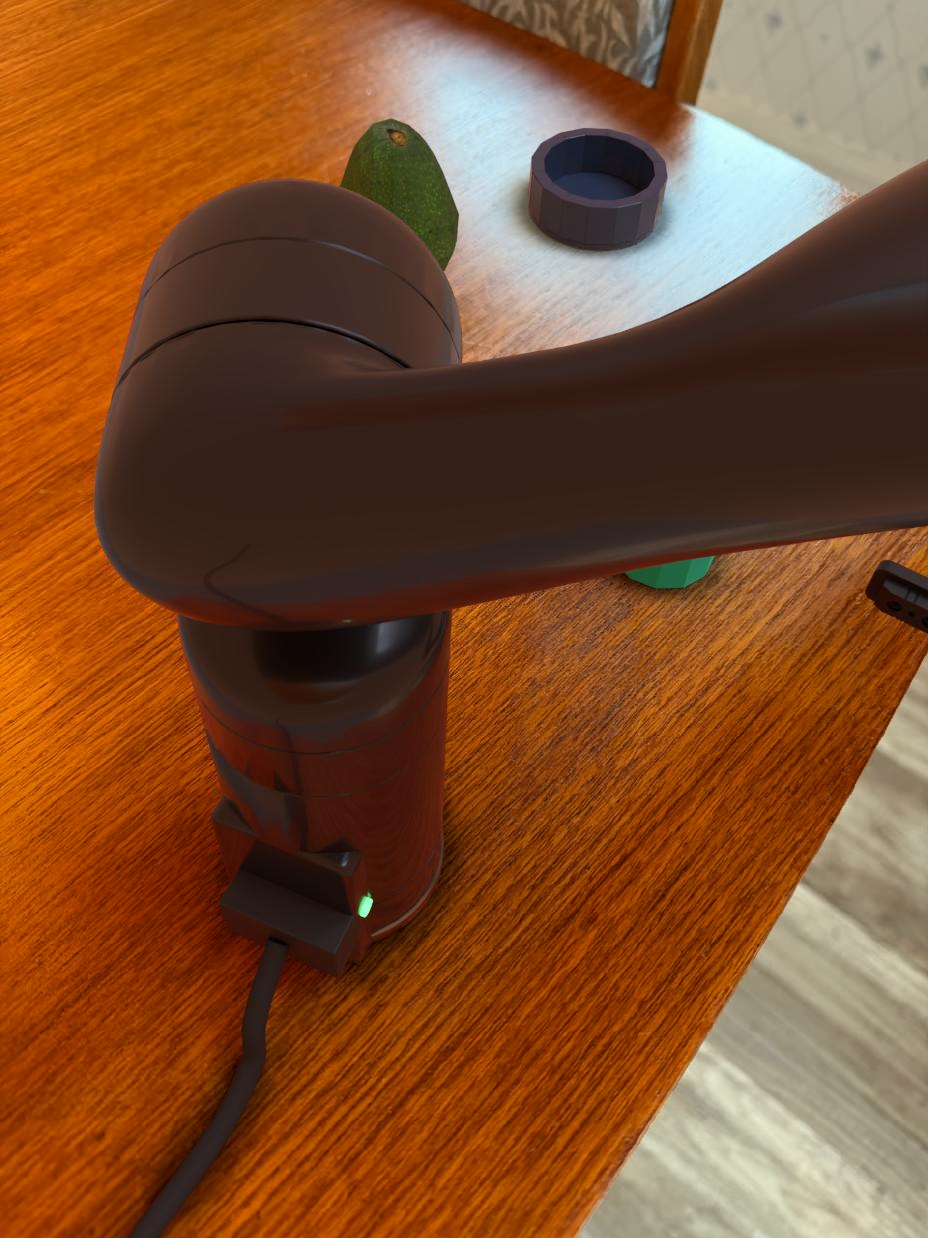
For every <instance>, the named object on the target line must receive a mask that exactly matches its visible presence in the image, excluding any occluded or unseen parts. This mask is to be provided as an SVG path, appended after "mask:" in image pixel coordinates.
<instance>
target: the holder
mask: <svg viewBox="0 0 928 1238" xmlns="http://www.w3.org/2000/svg"><path fill="white" fill-rule="evenodd" d="M668 178H669V175H668V169H667V163H666V160H665V159H664V158H663V156H662V155H661V154H660V153H659V151H657V150H656V148H655V147H654V146H652V145H651V144H649V143H648V142H645V141H644V140H642V139H640V138H639V137H637V136H636V135H633V134H631V133H630V134H629V133H625V132H622V131H618V130H615V129H612V128H611V129H610V128H599V127H581V128H575V129H570V130H567V131H561V132H558V133H556V134H554V135H552V136H551V137H549V138H547V139H545V140H544V141H542V142H541V143H539V145H538V147H537V148H536V150H535V151H534V152H533V154H532V155H531V158H530V169H529V181H528V193H527V196H528V197H527V198H528V199H527V200H528V201H527V210H528V214H529V217H530V219H531V221H532V223H533V224H534V225H535V227H536V228H537V229H538V231H540V232H541V233H543V234H544V235H545V236H547V237H549V238H550V239H552V240H553V241H555V242H557V243H560V244H563V245H566V246H568V247H571V248H575V249H579V250H584V251H585V250H586V251H595V252H597V251H598V252H605V251H616V250H621V249H625V248H628V247H631V246H634V245H636V244H639V243H640V242H642V241H644V240H645V239H647V238H648V237H649V236H650V235H651V234H652V233H653V232H654V230H655V229H656V227H657V225H658V223H659V219H660V216H661V214H662V209H663V203H664V198H665V194H666V189H667V183H668Z"/></svg>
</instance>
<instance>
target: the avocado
mask: <svg viewBox="0 0 928 1238" xmlns="http://www.w3.org/2000/svg"><path fill="white" fill-rule="evenodd" d="M339 187H342V188H346V189H348V190H351V191H353V192H355V193H358V194H360V195H363V196H365V197H366V198H368V199H370V200H372V201H374V202H376V203H378V204H379V205H381V206H382V207H384V208H385V209H387V210H388V211H390V212H392V213H393V214H394V215H395V216H397V217H398V218H399V219H400V220H402V221H403V222H404V223H405V224H406V225H407V226H408V227H409V228H411V229H412V230H413V231H414V232H415V233H416V234H417V235H418V236H419V238H420V239H421V240H422V241H423V242H424V243H425V245H426V246H427V247H428V248H429V250H430V251H431V252H432V254H433V255H434V257H435V258H436V259H437V261H438V263H439V264H440V266H441V268H442V269H443V271H444V272H445V271H446V269H447V267H448V265H449V263H450V261H451V259H452V257H453V255H454V252H455V249H456V245H457V241H458V234H459V222H460V221H459V220H460V212H459V210H458V208H457V205H456V202H455V200H454V197H453V194H452V192H451V189H450V187H449V183H448V181H447V178H446V176H445V174H444V170H443V169H442V167H441V164H440V163H439V160H438V159H437V157H436V155H435V153H434V151H433V150H432V148H431V146H430V145H429V143H428V142H427V140H426V139H425V138H424V136H422V135H421V134H420V133H419V132H418V131H417V130H415V128H413V127H412V126H411V125H410V124H408V123H405V122H402V121H400V120H397V119H395V118H392V117H390V118H387V119H384V120H381V121H377V122H373V123H372V124H371V125H370V126H369V127H368V129H366V131H365V132H364V133H363V134H362V135H361V137H359V139H358V140H357V142H356V143H355V145H354V146H353V148H352V150H351V153H350V155H349V158H348V161H347V164H346V167H345V170H344V173H343V176H342V178H341V182H340V185H339Z"/></svg>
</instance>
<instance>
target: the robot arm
mask: <svg viewBox="0 0 928 1238" xmlns="http://www.w3.org/2000/svg"><path fill="white" fill-rule="evenodd" d="M137 297H138V298H137V301H136V305H135V309H134V312H133V316H132V320H131V323H130V327H129V331H128V334H127V338H126V342H125V346H124V350H123V354H122V358H121V361H120V365H119V367H118V368H119V369H118V373H117V376H116V380H115V383H114V388H113V391H112V395H111V401H110V403H109V406H108V410H107V415H106V418H105V422H104V425H103V431H102V436H101V441H100V446H99V451H98V457H97V460H96V461H97V462H96V468H95V478H94V492H93V494H94V495H93V496H94V497H93V515H94V516H93V517H94V524H95V528H96V532H97V536H98V541H99V543H100V546H101V549H102V551H103V553H104V555H105V556H106V558H107V559H108V561H109V563H110V564H111V566H112V568H113V569H114V570H115V572H116V573H117V574H118V575H119V577H121V579H122V580H123V581H124V582H126V583H127V585H129V586H130V587H131V588H132V589H134V591H136V592H138V593H139V594H140V595H142V596H143V597H145V598H147V599H148V600H150V601H151V602H153V603H155V604H156V605H158V606H159V607H162V608H164V609H166V610H168V611H169V612H174V613H176V617H177V618H176V620H177V626H178V627H177V628H178V635H179V640H180V644H181V648H182V652H183V656H184V660H185V662H186V667H187V671H188V675H189V678H190V680H191V683H192V688H193V691H194V694H195V698H196V701H197V705H198V709H199V712H200V713H199V714H200V716H201V721H202V724H203V728H204V732H205V736H206V740H207V742H208V746H209V747H208V748H209V750H210V753H211V754H210V755H211V757H212V761H213V764H214V768H215V773H216V775H217V780H218V783H219V786H220V790H221V794H222V795H221V797H220V799H219V800H218V802H217V803H216V805H215V807H214V808H213V810H212V812H211V814H210V817H209V818H210V821H211V825H212V829H213V831H214V835H215V838H216V841H217V842H216V843H217V845H218V848H219V852H220V855H221V857H222V862H223V865H224V868H225V871H226V875H227V878H228V881H229V884H228V886H227V888H226V889H225V892H224V893H223V894H222V896H221V898H220V900H219V902H218V906H219V909H220V913H221V914H222V918H223V921H224V924H225V927H226V929H227V931H229V932H232V933H234V934H237V935H238V936H241V937H243V938H245V939H247V940H250V941H252V942H254V943H256V944H259V945H261V946H264V948H263V951H262V953H261V957H260V958H259V959H260V960H259V963H258V965H257V969H256V971H255V974H254V977H253V980H252V983H251V986H250V989H249V993H248V996H247V998H246V999H247V1000H246V1002H245V1006H244V1011H243V1015H242V1020H241V1027H240V1029H241V1030H240V1031H241V1033H240V1034H241V1044H242V1052H241V1057H240V1060H239V1062H238V1066H237V1068H236V1071H235V1073H234V1075H233V1078H232V1081H231V1083H230V1084H229V1087H228V1089H227V1091H226V1093H225V1095H224V1097H223V1099H222V1100H221V1103H220V1105H219V1106H218V1108H217V1110H216V1112H215V1113H214V1115H213V1117H212V1119H211V1120H210V1122H209V1123H208V1125H207V1126H206V1128H205V1129H204V1131H203V1132H202V1135H201V1136H200V1137H199V1139H198V1140H197V1141H196V1143H195V1145H194V1146H193V1147H192V1149H191V1150H190V1152H188V1155H187V1156H186V1157H185V1158H184V1160H183V1161H182V1163H181V1164H180V1165H179V1167H178V1168H177V1170H176V1171H175V1172H174V1173H173V1175H172V1176H171V1178H170V1179H169V1180H168V1182H167V1183H166V1184H165V1186H164V1187H163V1188H162V1190H161V1191H160V1192H159V1194H157V1196H156V1198H155V1199H154V1200H153V1202H151V1204H150V1205H149V1207H148V1208H147V1210H146V1211H145V1212H144V1214H143V1215H142V1217H140V1219H139V1220H138V1222H137V1223H136V1225H135V1226H134V1228H133V1229H132V1230H131V1232H130V1233H129V1235H128V1236H127V1238H161V1236H162V1234H163V1233H164V1231H165V1230H166V1229H167V1228H168V1226H169V1225H170V1223H171V1222H172V1221H173V1219H174V1218H175V1216H176V1215H177V1213H178V1212H179V1211H180V1209H181V1208H182V1207H183V1205H184V1204H185V1202H186V1201H187V1200H188V1198H189V1197H190V1195H192V1193H193V1192H194V1190H195V1189H196V1187H197V1186H198V1185H199V1183H200V1182H201V1181H202V1180H203V1178H204V1176H205V1175H206V1174H207V1172H208V1170H209V1169H210V1168H211V1166H212V1165H213V1163H214V1162H215V1161H216V1159H217V1158H218V1156H219V1154H220V1153H221V1152H222V1150H223V1149H224V1147H225V1145H226V1144H227V1142H228V1140H230V1137H231V1135H233V1132H234V1131H235V1129H236V1127H237V1125H238V1123H239V1122H240V1120H241V1118H242V1116H243V1114H244V1112H245V1110H246V1108H247V1106H248V1105H249V1102H250V1100H251V1098H252V1095H253V1093H254V1092H255V1089H256V1087H257V1085H258V1081H259V1079H260V1077H261V1074H262V1072H263V1069H264V1067H265V1063H266V1059H267V1043H266V1029H267V1022H268V1018H269V1015H270V1014H269V1013H270V1010H271V1006H272V1002H273V999H274V995H275V993H276V989H277V987H278V984H279V981H280V978H281V975H282V972H283V969H284V967H285V963H286V960H287V958H288V957H289V958H290V959H293V960H295V961H297V962H299V963H302V964H304V965H306V966H309V967H310V968H313V969H315V970H318V971H320V972H322V973H324V974H326V975H328V976H331V977H333V978H336V979H339V978H340V977H341V975H342V974H343V971H344V969H345V967H346V966H347V965H346V964H347V963H348V962H350V963H352V964H358V963H361V962H362V960H363V959H364V957H365V955H366V952H367V951H368V949H369V948H370V946H371V945H372V944H373V943H376V942H379V941H380V940H384V939H385V938H388V937H389V936H391V935H393V934H395V933H397V932H398V931H399V930H401V929H402V928H404V927H405V926H406V925H408V924H409V923H410V922H411V921H413V920H414V918H415V917H416V916H417V915H418V914H420V912H421V911H422V910H423V909H424V907H425V906H426V904H427V903H428V902H429V900H430V899H431V897H432V896H433V894H434V891H435V890H436V887H437V885H438V883H439V881H440V877H441V873H442V870H443V864H444V852H445V837H444V836H445V835H444V827H443V825H444V824H443V823H444V797H445V772H446V771H445V769H446V750H447V749H446V747H447V728H448V727H447V725H448V724H447V723H448V702H449V701H448V700H449V688H450V687H449V686H450V665H451V664H450V663H451V644H452V642H451V641H452V623H453V610H456V609H461V608H466V607H471V606H475V605H480V604H484V603H490V602H494V601H498V600H503V599H508V598H513V597H516V596H522V595H526V594H527V595H528V594H531V593H536V592H540V591H545V590H549V589H550V590H551V589H554V588H559V587H564V586H569V585H573V584H577V583H581V582H582V583H583V582H586V581H587V582H588V581H593V580H597V579H601V578H606V577H611V576H615V575H619V574H625V572H630V571H635V570H640V569H644V568H649V567H654V566H659V565H664V564H669V563H674V562H679V561H686V560H692V559H698V558H705V557H711V556H714V557H717V556H724V555H729V554H736V553H743V552H748V551H749V552H751V551H756V550H758V551H759V550H764V549H772V548H777V547H778V548H779V547H784V546H791V545H797V544H805V543H811V542H819V541H825V540H833V539H840V538H848V537H855V536H863V535H869V534H870V535H871V534H876V533H884V532H885V533H886V532H893V531H899V530H908V529H917V528H924V527H928V158H927V159H925V160H923V161H922V162H919V163H918V164H916V165H914V166H912V167H910V168H908V169H906V170H904V171H902V172H901V173H899V174H897V175H895V176H894V177H892V178H890V179H888V180H887V181H885V182H883V183H882V184H880V185H878V186H877V187H875V188H873V189H872V190H870V191H869V192H867V193H865V194H863V195H862V196H859V197H858V198H857V199H855V200H852V202H850V203H849V204H847V205H846V206H844V207H842V208H841V209H839V210H838V211H836V212H835V213H833V214H832V215H830V216H828V217H827V218H825V219H823V220H822V221H821V222H819V223H817V224H816V225H815V226H813V227H811V228H810V229H808V230H807V231H805V232H804V233H803V234H801V235H799V236H798V237H796V238H795V239H793V240H792V241H790V242H789V243H787V244H786V245H784V246H783V247H781V248H780V249H779V250H777V251H775V252H774V253H772V254H770V255H769V256H768V257H765V259H763V260H761V261H760V262H759V263H757V264H755V265H754V266H753V267H751V268H750V269H748V270H747V271H745V272H744V273H742V274H740V275H739V276H737V277H735V278H734V279H732V280H730V281H728V282H727V283H725V284H724V285H721V286H720V287H718V288H716V289H714V290H713V291H711V292H709V293H708V294H706V295H704V296H702V297H700V298H698V299H697V300H694V301H692V302H690V303H688V304H686V305H684V306H683V305H682V306H681V307H679V308H677V309H674V310H672V311H670V312H668V313H666V314H664V315H662V316H660V317H658V318H654V319H652V320H650V321H647V322H644V323H641V324H639V325H636V326H633V327H631V328H628V329H625V330H621V331H618V332H615V333H611V334H608V335H604V336H601V337H598V338H593V339H589V340H586V341H581V342H577V343H573V344H569V345H565V346H560V347H559V346H558V347H553V348H547V349H542V350H536V351H531V352H529V351H528V352H525V353H524V352H523V353H519V354H513V355H507V356H502V357H496V358H490V359H489V358H488V359H484V360H483V359H482V360H476V361H469V362H463V349H464V348H463V328H462V320H461V315H460V311H459V306H458V302H457V299H456V297H455V294H454V290H453V288H452V286H451V284H450V282H449V279H448V277H447V275H446V273H445V271H443V269H442V268H441V266H440V264H439V263H438V261H437V259H436V258H435V257H434V255H433V254H432V252H431V251H430V250H429V248H428V247H427V246H426V245H425V243H424V242H423V241H422V240H421V239H420V238H419V236H418V235H417V234H416V233H415V232H414V231H413V230H412V229H411V228H409V227H408V226H407V225H406V224H405V223H404V222H403V221H402V220H400V219H399V218H398V217H397V216H395V215H394V214H393V213H392V212H390V211H388V210H387V209H385V208H384V207H382V206H381V205H379V204H378V203H376V202H374V201H372V200H370V199H368V198H366V197H365V196H363V195H360V194H358V193H355V192H353V191H351V190H348V189H346V188H342V187H340V185H339V186H338V185H335V184H332V183H328V182H324V181H318V180H312V179H303V178H272V179H263V180H257V181H252V182H248V183H244V184H240V185H238V186H234V187H232V188H229V189H226V190H225V191H222V192H219V193H218V194H216V195H214V196H212V197H211V198H208V199H207V200H205V201H204V202H202V203H201V204H199V205H198V206H196V207H195V208H194V209H193V210H192V211H190V212H189V213H188V214H186V215H185V216H183V218H182V219H180V221H179V222H178V223H177V224H175V225H174V227H172V229H171V230H170V231H169V232H168V233H167V235H166V236H165V237H164V239H163V240H162V242H161V243H160V245H159V246H158V248H157V249H156V250H155V253H154V255H153V256H152V259H151V261H150V263H149V264H148V267H147V270H146V272H145V275H144V278H143V280H142V282H141V286H140V291H139V294H138V296H137ZM871 575H872V576H871V578H870V580H869V581H868V584H867V585H866V588H865V590H864V594H865V596H866V597H867V598H868V599H869V600H870V601H872V602H873V606H874V607H876V608H877V609H878V610H879V611H880V612H881V613H882V614H885V615H887V616H889V617H891V618H894V619H895V620H897V621H899V622H903V623H904V624H905V625H908V626H910V627H912V628H914V629H916V630H918V631H920V632H922V633H925V634H927V635H928V576H927V575H923V574H921V573H920V572H917V571H915V570H913V569H911V568H908V567H906V566H904V565H902V564H900V563H898V562H896V561H895V560H891V559H883V560H881V561H880V562H879V563H878V564H877V566H876V568H875V570H874V572H873V573H872V574H871Z"/></svg>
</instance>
